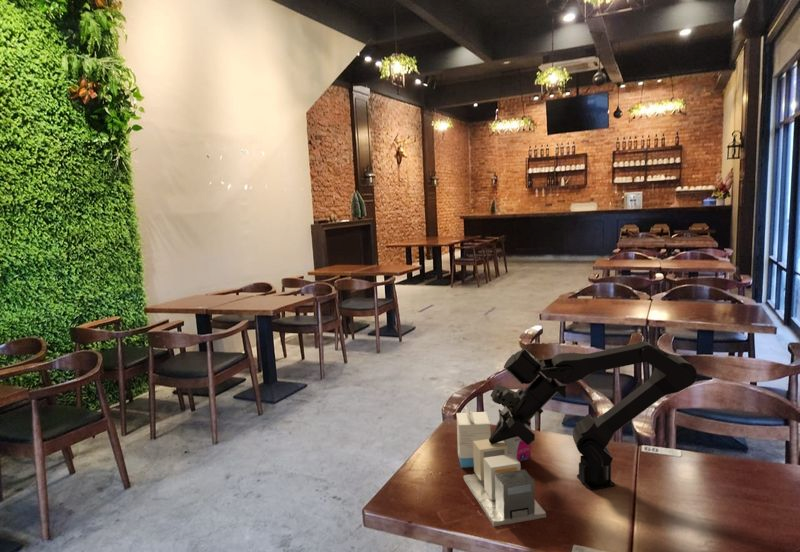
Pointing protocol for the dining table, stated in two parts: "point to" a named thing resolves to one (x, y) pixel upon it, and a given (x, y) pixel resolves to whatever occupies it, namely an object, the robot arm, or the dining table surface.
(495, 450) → the block
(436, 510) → the dining table surface
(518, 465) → the block
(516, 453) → the supplement box
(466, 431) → the ink box
